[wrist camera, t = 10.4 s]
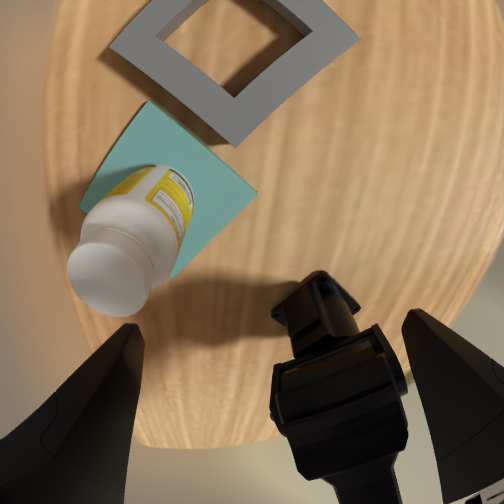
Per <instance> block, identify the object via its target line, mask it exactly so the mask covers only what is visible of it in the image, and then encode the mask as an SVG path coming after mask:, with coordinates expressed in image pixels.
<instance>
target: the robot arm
mask: <svg viewBox="0 0 504 504" xmlns="http://www.w3.org/2000/svg"><path fill="white" fill-rule="evenodd" d="M322 277H325V278H323V279H322ZM355 307H356V308H355ZM360 309H361V307H360V305H359V303H358V302H357V301H356V300H355V299H354V298H353V297H352V296H351V295H350V294H349V293H348V292H347V291H346V290H345V289H344V288H343V287H342V286H341V285H340V284H339V283H338V282H337V281H336V280H335V279H334V278H333V277H331V276H330V275H329V274H328V273H327V272H321V273H319V274H318V275H317V276H315V277H314V278H313V279H312V280H310V281H309V282H308V283H306V284H305V285H304V286H302V287H301V288H300V289H299V290H297V291H296V292H295V293H293V294H292V295H291V296H289V297H288V298H287V299H286V300H284V301H283V302H282V303H281V304H279V305H278V306H277V307H275V308H274V309H273V310H272V311H271V317H272V318H273V319H275V320H276V321H278V322H279V323H281V324H282V325H284V326H285V327H287V331H288V336H289V337H290V341H291V346H292V352H293V357H294V358H295V359H293V360H290V361H287V362H284V363H278V364H275V365H274V368H273V374H272V385H271V395H270V405H269V408H270V411H271V412H270V418H271V420H272V421H274V422H275V424H276V426H277V428H278V430H279V432H280V433H281V434H282V435H283V436H284V437H287V439H288V442H289V444H290V447H291V450H292V453H293V456H294V460H295V463H296V467H297V470H298V472H299V473H300V474H301V475H302V476H303V477H304V478H305V479H306V480H308V481H311V480H314V479H319V478H321V479H322V480H324V481H325V482H327V483H329V484H330V485H332V486H333V487H334V490H335V492H336V495H337V499H338V502H339V504H402V499H401V495H400V491H399V487H398V483H397V479H396V475H395V471H394V467H393V466H394V463H395V461H396V458H397V456H398V453H399V452H401V451H403V450H404V449H405V447H406V443H407V439H408V430H407V427H408V422H407V419H406V415H405V411H404V408H403V405H402V401H401V398H400V397H401V396H403V395H405V394H407V393H408V389H407V384H406V380H405V377H404V374H403V371H402V368H401V365H400V363H399V361H398V358H397V356H396V354H395V352H394V351H393V349H392V347H391V346H390V344H389V342H388V340H387V339H386V337H385V335H384V334H383V332H382V331H381V329H380V327H379V326H378V324H377V323H376V324H374V325H372V326H371V328H368V329H366V330H364V331H362V332H360V331H359V329H358V326H357V324H356V322H355V319H354V317H353V315H354V314H356V313H357V312H358V311H359V310H360ZM275 313H278V314H275ZM401 331H402V336H403V339H404V343H405V347H406V351H407V355H408V359H409V364H410V367H411V371H412V374H413V377H414V380H415V383H416V386H417V389H418V392H419V395H420V399H421V402H422V406H423V409H424V413H425V416H426V420H427V424H428V427H429V431H430V435H431V439H432V444H433V447H434V453H435V457H436V461H437V468H438V473H439V479H440V484H441V491H442V498H443V504H449V503H452V502H454V501H457V500H459V499H462V498H464V497H467V496H469V495H471V494H474V493H476V492H478V491H479V493H477V494H476V495H474V496H473V497H471V498H470V499H468V500H467V501H466V502H465V504H504V367H503V366H501V365H500V364H498V363H497V362H496V361H494V360H493V359H490V357H489V356H488V355H486V354H485V353H484V352H482V351H481V350H479V349H478V348H476V347H475V346H474V345H472V344H471V343H470V342H468V341H467V340H465V339H464V338H463V337H461V336H460V335H458V334H457V333H456V332H454V331H453V330H451V329H450V328H448V327H447V326H445V325H444V324H443V323H441V322H440V321H438V320H437V319H435V318H434V317H432V316H431V315H429V314H428V313H426V312H425V311H423V310H422V309H420V308H417V309H411V310H410V311H409V312H408V314H407V316H406V318H405V320H404V322H403V325H402V329H401ZM144 349H145V343H144V339H143V337H142V334H141V331H140V329H139V327H138V325H137V324H135V323H125V324H123V325H122V326H121V327H120V328H119V329H118V330H117V331H116V332H115V333H114V334H113V335H112V336H111V337H110V338H109V339H108V340H106V341H105V342H104V343H103V344H102V345H101V346H100V347H99V348H98V349H97V350H96V351H95V352H94V353H93V354H92V355H91V356H90V357H89V358H88V359H87V360H86V361H85V362H84V363H83V364H82V365H81V366H80V367H79V368H78V369H77V370H76V371H75V372H74V373H73V374H72V375H71V376H70V377H69V378H68V379H67V380H66V381H65V382H64V383H63V384H62V385H61V386H60V387H59V388H58V389H57V390H56V392H54V393H53V394H52V395H51V396H50V397H49V398H48V399H47V400H46V401H45V402H44V403H43V404H42V405H41V406H40V407H39V408H38V409H37V410H36V411H35V412H33V413H32V414H31V415H30V416H29V417H28V418H27V419H25V420H24V421H23V422H22V423H21V424H20V425H18V426H17V427H16V428H15V429H14V430H13V431H11V432H10V433H9V434H8V435H7V436H5V437H4V438H2V439H0V504H124V493H125V483H126V475H127V466H128V459H129V452H130V444H131V438H132V432H133V426H134V420H135V415H136V409H137V404H138V399H139V394H140V388H141V379H142V368H143V358H144Z"/></svg>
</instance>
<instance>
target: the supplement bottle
mask: <svg viewBox="0 0 504 504" xmlns="http://www.w3.org/2000/svg"><path fill="white" fill-rule="evenodd" d="M193 208H194V195H193V191H192V188H191V186H190V184H189V182H188V180H187V179H186V178H185V176H184V175H183V174H182V173H180V172H179V171H178V170H176V169H174V168H172V167H170V166H167V165H163V164H150V165H146V166H143V167H141V168H139V169H137V170H136V171H134V172H133V173H132V174H130V175H129V176H128V177H127V178H126V179H125V180H123V181H122V182H121V183H120V184H119V185H117V186H116V187H115V188H114V189H113V190H112V191H110V192H109V193H108V194H107V195H106V196H105V197H104V198H103V199H102V200H100V201H99V202H98V203H97V204H96V205H95V206H94V207H93V208H92V209H91V211H90V212H89V213H88V214H87V216H86V218H85V220H84V222H83V225H82V228H81V235H80V242H79V243H78V245H77V246H76V247H75V249H74V250H73V251H72V253H71V254H70V256H69V259H68V263H67V274H68V278H69V281H70V284H71V286H72V288H73V290H74V291H75V293H76V294H77V295H78V297H79V298H80V299H81V300H82V301H83V302H84V303H86V304H87V305H88V306H89V307H91V308H92V309H94V310H96V311H98V312H100V313H102V314H105V315H108V316H112V317H127V316H131V315H134V314H135V313H137V312H139V311H140V310H141V309H142V308H143V306H144V305H145V303H146V301H147V299H148V296H149V294H150V291H151V290H152V289H154V288H156V287H158V286H159V285H160V284H162V283H163V282H164V281H165V280H166V279H167V278H168V277H169V275H170V274H171V272H172V270H173V268H174V266H175V263H176V260H177V258H178V254H179V251H180V248H181V245H182V242H183V239H184V236H185V233H186V231H187V228H188V225H189V222H190V219H191V216H192V213H193Z"/></svg>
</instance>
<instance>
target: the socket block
mask: <svg viewBox="0 0 504 504" xmlns="http://www.w3.org/2000/svg"><path fill="white" fill-rule="evenodd" d="M207 1H208V0H152V1H151V2H150V3H149V4H148V5H147V6H146V7H145V8H144V9H143V10H142V11H141V12H140V13H139V14H138V15H137V16H136V17H135V18H134V19H133V20H132V21H131V22H130V23H129V24H128V25H127V26H126V28H125V29H124V30H123V31H122V32H121V33H120V34H119V36H118V37H117V38H116V39H115V40H114V41H113V43H112V44H111V45H110V46H109V47H110V48H111V49H112V50H114V51H115V52H117V53H118V54H119V55H121V56H122V57H124V58H125V59H126V60H128V61H129V62H131V63H132V64H133V65H135V66H136V67H137V68H139V69H140V70H141V71H143V72H144V73H145V74H147V75H148V76H149V77H151V78H152V79H153V80H154V81H156V82H157V83H158V84H160V85H161V86H162V87H163V88H165V89H166V90H167V91H168V92H170V93H171V94H172V95H173V96H175V97H176V98H177V99H178V100H180V101H181V102H182V103H183V104H185V105H186V106H187V107H188V108H189V109H191V110H192V111H193V112H194V113H195V114H197V115H198V116H199V117H200V118H201V119H202V120H204V121H205V122H206V123H207V124H208V125H209V126H211V127H212V128H213V129H214V130H215V131H216V132H218V133H219V134H220V135H221V136H222V137H223V138H224V139H225V140H227V141H228V142H229V143H230V144H231V145H232V146H233V147H234V148H236V147H237V146H238V145H239V144H240V143H241V142H242V141H243V140H244V139H245V138H246V137H247V136H248V135H249V134H250V133H251V132H252V131H253V130H254V129H255V128H256V127H258V126H259V125H260V124H261V123H262V122H263V121H264V120H265V119H266V118H267V117H268V116H269V115H270V114H271V113H272V112H274V111H275V110H276V109H277V108H278V107H279V106H280V105H281V104H282V103H283V102H285V101H286V100H287V99H288V98H289V97H290V96H291V95H292V94H294V93H295V92H296V91H297V90H298V89H299V88H300V87H302V86H303V85H304V84H305V83H306V82H308V81H309V80H310V79H311V78H312V77H313V76H315V75H316V74H317V73H318V72H320V71H321V70H322V69H323V68H324V67H326V66H327V65H328V64H329V63H331V62H332V61H333V60H334V59H336V58H337V57H338V56H340V55H341V54H342V53H343V52H345V51H346V50H347V49H349V48H350V47H351V46H353V45H354V44H355V43H357V42H358V41H360V40H361V39H360V38H359V37H358V35H357V34H356V33H355V32H354V31H353V30H352V29H351V28H350V27H349V26H348V25H347V24H346V23H345V22H344V21H343V20H342V19H341V18H340V17H339V16H338V15H337V14H336V13H335V12H334V11H333V10H332V9H331V8H330V7H329V6H328V5H327V4H325V3H324V2H323V1H322V0H262V1H263V2H264V3H266V4H267V5H268V6H270V7H271V8H272V9H273V10H275V11H276V12H277V13H278V14H280V15H281V16H282V17H283V18H284V19H286V20H287V21H288V22H289V23H290V24H291V25H292V26H294V27H295V28H296V29H297V30H298V31H299V32H300V33H301V34H302V35H303V36H305V38H303V39H302V40H301V41H300V42H298V43H297V44H296V45H294V46H293V47H292V48H291V49H289V50H288V51H287V52H286V53H284V54H283V55H282V56H281V57H280V58H278V59H277V60H276V61H275V62H274V63H272V64H271V65H270V66H269V67H268V68H267V69H266V70H264V71H263V72H262V73H261V74H260V75H259V76H258V77H257V78H255V79H254V80H253V81H252V82H251V83H250V84H249V85H248V86H247V87H246V88H245V89H244V90H242V91H241V92H240V93H239V94H238V95H237V96H236V97H235V98H233V97H232V96H231V95H230V94H229V93H228V92H226V91H225V90H224V89H223V88H222V87H221V86H219V85H218V84H217V83H216V82H215V81H213V80H212V79H211V78H210V77H209V76H207V75H206V74H205V73H204V72H202V71H201V70H200V69H199V68H197V67H196V66H195V65H194V64H192V63H191V62H190V61H188V60H187V59H186V58H185V57H183V56H182V55H181V54H179V53H178V52H177V51H175V50H174V49H172V48H171V47H170V46H168V45H167V44H166V43H164V41H165V40H166V39H167V38H168V37H169V36H170V35H171V34H172V33H173V32H174V31H175V30H176V29H177V28H178V27H179V26H180V25H181V24H182V23H183V22H184V21H185V20H186V19H188V18H189V17H190V16H191V15H192V14H193V13H194V12H195V11H197V10H198V9H199V8H200V7H201V6H202V5H204V4H205V3H206V2H207Z"/></svg>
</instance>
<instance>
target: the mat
mask: <svg viewBox="0 0 504 504" xmlns="http://www.w3.org/2000/svg"><path fill="white" fill-rule="evenodd" d="M150 164H163V165H167V166H170V167H172V168H174V169H176V170H178V171H179V172H180V173H182V174H183V175H184V176H185V178H186V179H187V180H188V182H189V184H190V186H191V188H192V191H193V195H194V208H193V213H192V216H191V219H190V222H189V225H188V228H187V231H186V233H185V236H184V239H183V242H182V245H181V248H180V251H179V254H178V258H177V260H176V263H175V266H174V268H173V270H172V272H171V274H170V275H169V278H171V279H173V278H174V277H175V276H176V275H177V274H178V273H179V272H180V271H181V270H182V269H183V268H184V267H185V266H186V265H187V264H188V263H189V262H190V261H191V260H192V259H193V257H194V256H195V255H196V254H197V253H198V252H199V251H200V250H201V249H202V248H203V247H204V246H205V245H206V244H207V243H208V242H209V241H210V240H211V239H212V238H213V237H214V236H215V235H216V234H217V233H218V232H219V231H220V230H221V229H222V228H223V227H224V226H225V225H226V224H227V223H228V222H229V221H230V220H231V219H233V218H234V217H235V216H236V215H237V214H238V213H239V212H240V211H241V210H242V209H243V208H244V207H245V206H246V205H247V204H248V203H249V202H250V201H251V200H252V199H253V198H254V197H255V196H256V195H257V192H256V191H255V190H254V189H253V188H252V187H251V186H250V185H249V184H248V183H247V182H246V181H244V180H243V179H242V178H241V177H240V176H239V175H238V174H237V173H236V172H234V171H233V170H232V169H231V168H230V167H229V166H228V165H227V164H225V163H224V162H223V161H222V160H221V159H220V158H219V157H217V156H216V155H215V154H214V153H213V152H212V151H211V150H209V149H208V148H207V147H206V146H205V145H204V144H202V143H201V142H200V141H199V140H198V139H197V138H195V137H194V136H193V135H192V134H191V133H189V132H188V131H187V130H186V129H185V128H184V127H182V126H181V125H180V124H179V123H178V122H176V121H175V120H174V119H173V118H171V117H170V116H169V115H168V114H167V113H165V112H164V111H163V110H162V109H160V108H159V107H158V106H157V105H155V104H154V103H153V102H152V101H148V102H147V103H146V104H145V105H144V107H143V108H142V109H141V111H140V112H139V113H138V114H137V116H136V117H135V118H134V120H133V121H132V122H131V124H130V125H129V126H128V128H127V129H126V130H125V132H124V133H123V135H122V136H121V137H120V139H119V140H118V142H117V143H116V145H115V146H114V148H113V149H112V151H111V152H110V154H109V155H108V157H107V158H106V160H105V161H104V163H103V165H102V166H101V168H100V169H99V171H98V173H97V174H96V176H95V178H94V179H93V181H92V183H91V184H90V186H89V188H88V190H87V191H86V193H85V195H84V197H83V199H82V201H81V202H80V204H79V206H78V207H79V208H80V209H81V210H82V211H84V212H85V213H86V214H88V213H89V212H90V211H91V209H92V208H93V207H94V206H95V205H96V204H97V203H98V202H99V201H100V200H102V199H103V198H104V197H105V196H106V195H107V194H108V193H109V192H110V191H112V190H113V189H114V188H115V187H116V186H117V185H119V184H120V183H121V182H122V181H123V180H125V179H126V178H127V177H128V176H129V175H130V174H132V173H133V172H134V171H136V170H137V169H139V168H141V167H143V166H146V165H150Z"/></svg>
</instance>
